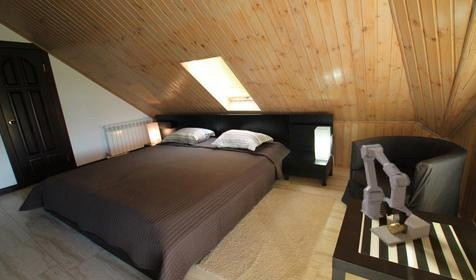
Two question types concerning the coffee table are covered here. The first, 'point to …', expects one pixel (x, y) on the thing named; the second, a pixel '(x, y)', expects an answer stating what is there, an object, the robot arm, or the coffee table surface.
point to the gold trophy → (397, 228)
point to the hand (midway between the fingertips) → (395, 219)
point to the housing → (414, 231)
